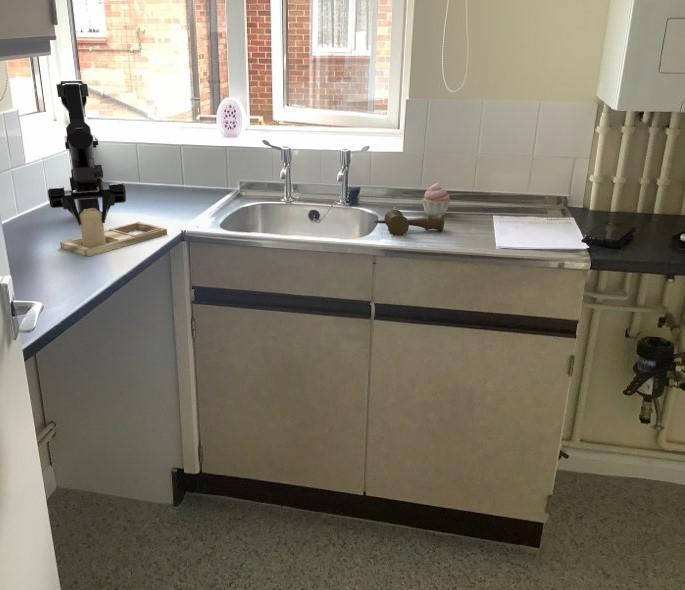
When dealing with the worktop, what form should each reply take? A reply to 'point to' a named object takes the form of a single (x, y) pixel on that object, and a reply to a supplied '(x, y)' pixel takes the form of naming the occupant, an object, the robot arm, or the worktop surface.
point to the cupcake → (436, 201)
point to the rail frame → (115, 238)
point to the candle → (92, 228)
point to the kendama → (410, 222)
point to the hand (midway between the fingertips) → (91, 223)
